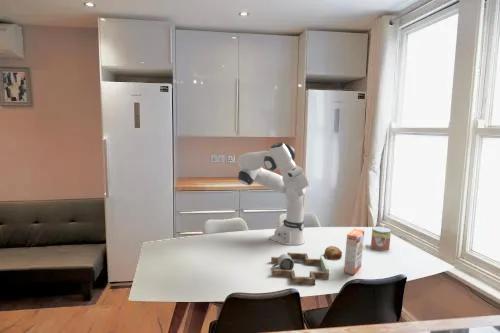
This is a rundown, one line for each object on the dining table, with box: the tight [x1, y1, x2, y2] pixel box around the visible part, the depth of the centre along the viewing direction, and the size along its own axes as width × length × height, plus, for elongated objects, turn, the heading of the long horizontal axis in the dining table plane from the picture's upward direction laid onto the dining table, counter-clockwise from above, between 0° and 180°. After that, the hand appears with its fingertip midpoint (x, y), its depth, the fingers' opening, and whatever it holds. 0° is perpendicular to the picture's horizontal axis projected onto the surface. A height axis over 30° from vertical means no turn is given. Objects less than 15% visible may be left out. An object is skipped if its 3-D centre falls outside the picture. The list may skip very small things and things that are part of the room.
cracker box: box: [343, 228, 365, 276], centre depth 189 cm, size 14×6×21 cm, turn 148°
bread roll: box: [323, 245, 343, 260], centre depth 208 cm, size 10×10×8 cm
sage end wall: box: [319, 255, 330, 274], centre depth 187 cm, size 2×18×5 cm, turn 178°
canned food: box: [370, 226, 392, 252], centre depth 226 cm, size 11×11×12 cm
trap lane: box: [270, 252, 330, 286], centre depth 187 cm, size 28×33×3 cm
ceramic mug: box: [271, 253, 295, 270], centre depth 187 cm, size 11×8×8 cm
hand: (301, 195), depth 185 cm, fingers closed
